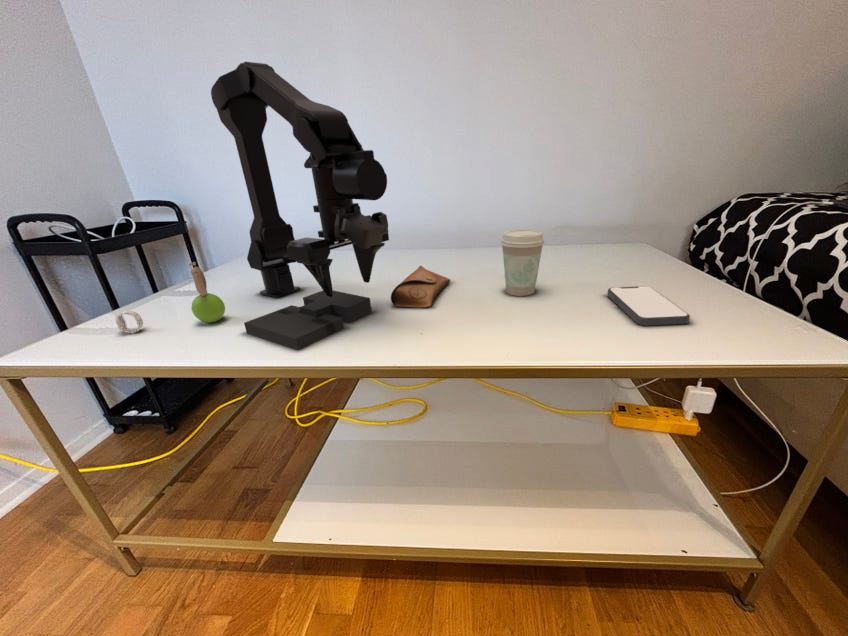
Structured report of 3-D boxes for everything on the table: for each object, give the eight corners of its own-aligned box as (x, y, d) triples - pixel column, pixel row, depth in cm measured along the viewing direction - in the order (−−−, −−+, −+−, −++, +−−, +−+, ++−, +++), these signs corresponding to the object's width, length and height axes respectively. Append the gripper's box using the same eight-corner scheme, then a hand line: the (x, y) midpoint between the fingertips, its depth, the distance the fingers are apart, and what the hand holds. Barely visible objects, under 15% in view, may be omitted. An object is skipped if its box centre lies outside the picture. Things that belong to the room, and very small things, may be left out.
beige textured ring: (147, 328, 76) (139, 307, 75) (143, 332, 75) (134, 311, 73) (126, 331, 76) (116, 310, 74) (121, 335, 74) (111, 314, 72)
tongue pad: (289, 318, 78) (286, 303, 76) (329, 303, 85) (326, 289, 84) (333, 330, 72) (330, 314, 70) (371, 312, 79) (369, 297, 78)
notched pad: (246, 333, 72) (243, 322, 71) (293, 314, 80) (291, 305, 79) (297, 350, 65) (295, 338, 64) (344, 328, 72) (342, 317, 72)
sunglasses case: (432, 305, 79) (413, 276, 77) (404, 321, 82) (385, 293, 80) (452, 279, 95) (436, 254, 93) (427, 293, 98) (412, 269, 96)
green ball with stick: (196, 331, 74) (173, 265, 69) (197, 319, 79) (175, 257, 74) (229, 324, 76) (209, 260, 71) (228, 314, 82) (209, 253, 76)
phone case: (691, 325, 68) (648, 293, 82) (694, 316, 67) (650, 285, 81) (638, 328, 68) (604, 295, 82) (639, 319, 67) (605, 287, 81)
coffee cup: (495, 296, 84) (495, 236, 79) (505, 284, 91) (507, 228, 86) (536, 299, 81) (540, 237, 76) (544, 287, 88) (548, 229, 83)
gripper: (324, 207, 57) (342, 312, 64) (407, 192, 71) (415, 281, 78) (274, 204, 63) (296, 301, 70) (361, 191, 76) (371, 274, 84)
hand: (349, 289), depth 75 cm, fingers open, 9 cm apart
